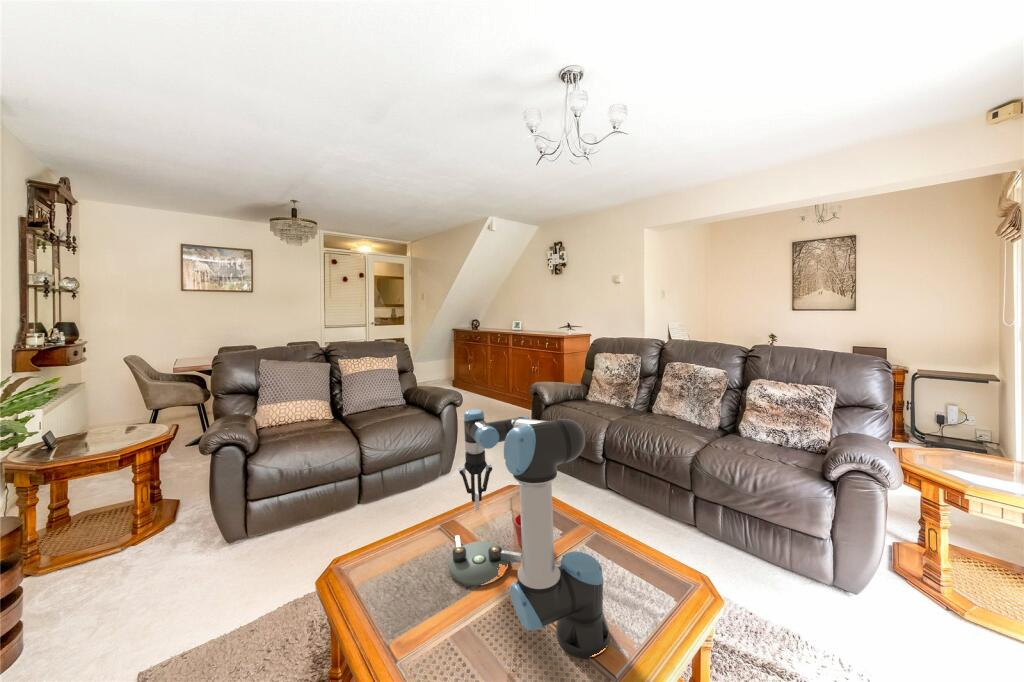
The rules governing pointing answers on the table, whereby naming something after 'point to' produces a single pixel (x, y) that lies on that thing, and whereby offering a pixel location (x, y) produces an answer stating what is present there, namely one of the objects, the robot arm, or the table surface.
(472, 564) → the plate
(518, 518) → the flower pot
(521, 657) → the table surface
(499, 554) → the knob right
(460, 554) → the knob left
